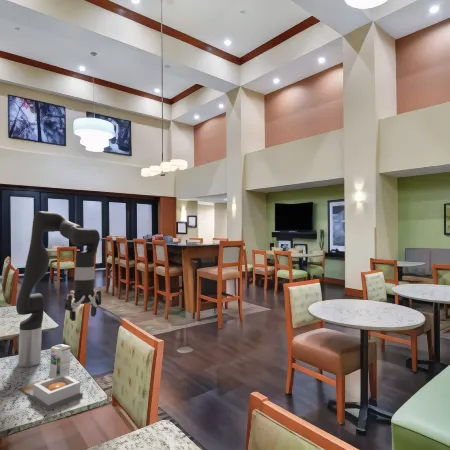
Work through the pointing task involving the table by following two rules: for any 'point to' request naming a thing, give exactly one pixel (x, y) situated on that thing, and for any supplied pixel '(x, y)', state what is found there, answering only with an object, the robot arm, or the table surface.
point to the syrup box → (59, 360)
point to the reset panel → (55, 392)
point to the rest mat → (28, 388)
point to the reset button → (56, 386)
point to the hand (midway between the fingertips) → (83, 318)
